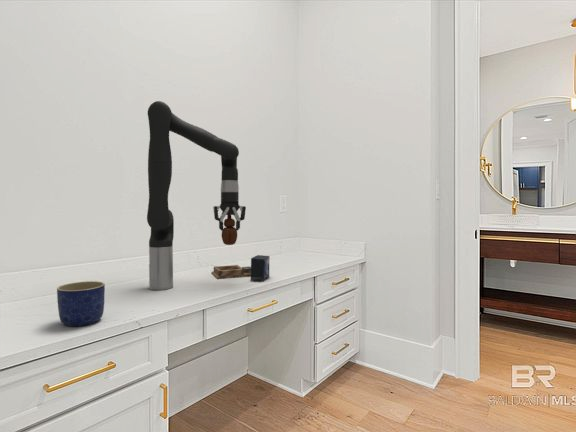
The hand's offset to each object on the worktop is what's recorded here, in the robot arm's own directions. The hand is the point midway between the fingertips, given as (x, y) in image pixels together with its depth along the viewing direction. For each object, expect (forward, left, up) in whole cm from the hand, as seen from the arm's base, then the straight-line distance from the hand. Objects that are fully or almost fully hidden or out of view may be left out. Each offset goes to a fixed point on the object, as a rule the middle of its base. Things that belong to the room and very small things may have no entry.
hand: (229, 230), depth 161 cm
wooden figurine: (0, 0, -6) cm, 6 cm away
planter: (-53, -33, -24) cm, 67 cm away
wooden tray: (+7, +19, -23) cm, 31 cm away
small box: (+15, +4, -24) cm, 28 cm away
